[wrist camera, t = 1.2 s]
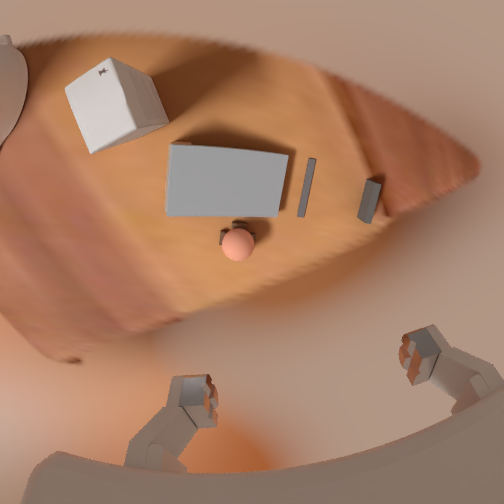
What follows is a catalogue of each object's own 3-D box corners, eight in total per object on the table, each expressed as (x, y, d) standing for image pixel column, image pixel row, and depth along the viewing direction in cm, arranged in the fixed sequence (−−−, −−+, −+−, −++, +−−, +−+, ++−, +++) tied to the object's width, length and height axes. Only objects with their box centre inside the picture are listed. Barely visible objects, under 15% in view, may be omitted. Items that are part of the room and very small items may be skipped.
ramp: (169, 203, 30) (161, 215, 26) (173, 141, 27) (166, 144, 23) (275, 213, 32) (282, 227, 28) (286, 154, 29) (296, 159, 25)
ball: (220, 250, 34) (220, 265, 30) (223, 222, 32) (223, 234, 29) (250, 252, 34) (253, 267, 31) (254, 225, 33) (258, 237, 29)
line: (297, 216, 33) (297, 216, 33) (308, 158, 30) (309, 158, 30) (303, 217, 33) (303, 217, 33) (315, 159, 30) (315, 159, 30)
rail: (357, 217, 33) (364, 222, 32) (366, 179, 31) (374, 183, 30) (363, 218, 34) (370, 223, 32) (373, 180, 31) (381, 184, 30)
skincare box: (117, 94, 24) (61, 85, 13) (151, 76, 24) (111, 53, 13) (136, 141, 27) (88, 156, 16) (171, 124, 26) (140, 127, 16)
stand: (218, 251, 34) (218, 254, 33) (222, 220, 32) (222, 222, 31) (251, 254, 34) (252, 257, 34) (256, 223, 33) (257, 225, 32)
